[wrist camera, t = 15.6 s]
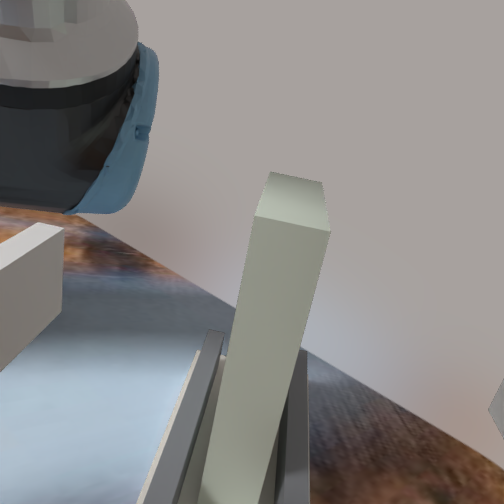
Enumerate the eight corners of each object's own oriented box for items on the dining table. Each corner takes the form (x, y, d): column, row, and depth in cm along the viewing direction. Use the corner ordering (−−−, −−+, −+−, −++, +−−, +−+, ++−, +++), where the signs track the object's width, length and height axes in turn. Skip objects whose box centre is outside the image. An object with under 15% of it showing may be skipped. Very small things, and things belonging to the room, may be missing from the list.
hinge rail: (306, 646, 19) (329, 587, 18) (103, 597, 20) (109, 534, 18) (305, 384, 36) (317, 342, 35) (195, 359, 36) (202, 317, 35)
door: (253, 521, 23) (330, 231, 17) (196, 507, 23) (254, 215, 18) (267, 391, 33) (320, 177, 27) (227, 382, 33) (271, 167, 27)
